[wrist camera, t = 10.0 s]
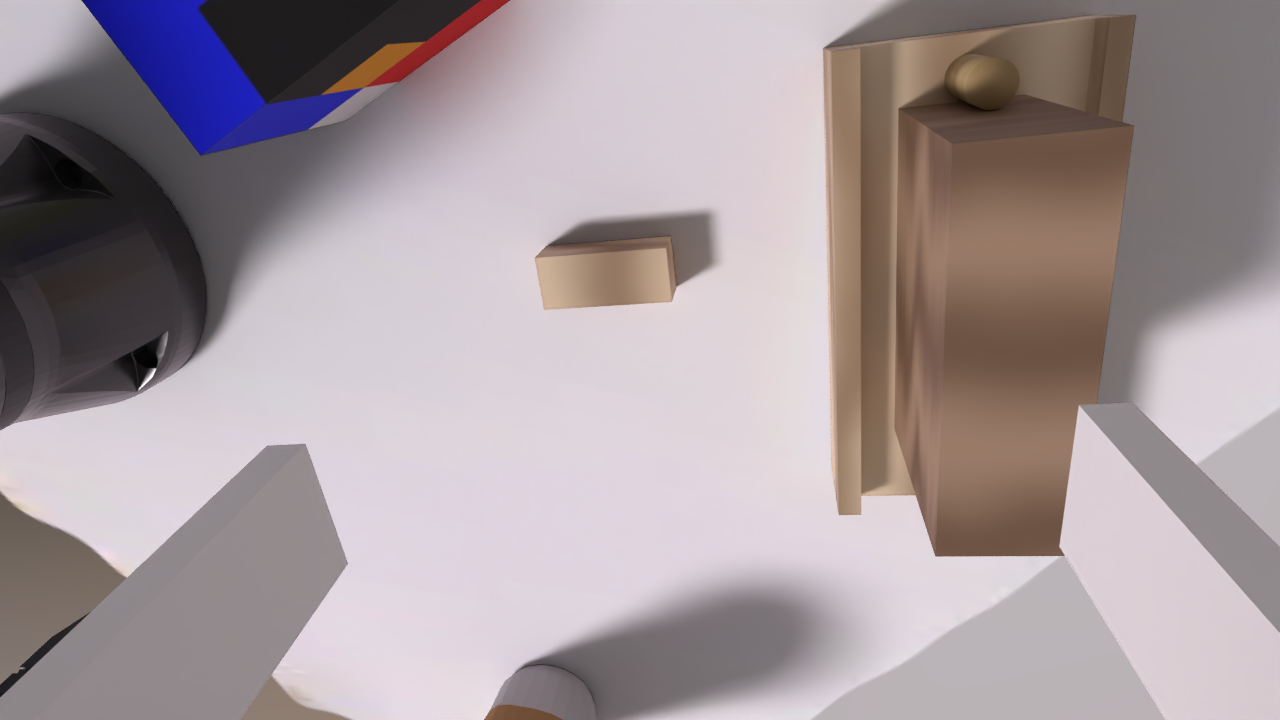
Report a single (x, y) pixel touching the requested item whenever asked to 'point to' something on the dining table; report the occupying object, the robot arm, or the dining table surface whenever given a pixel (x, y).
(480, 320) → the dining table surface
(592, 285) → the block
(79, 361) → the robot arm
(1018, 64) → the ledge
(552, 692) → the coffee cup
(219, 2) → the puzzle toy
